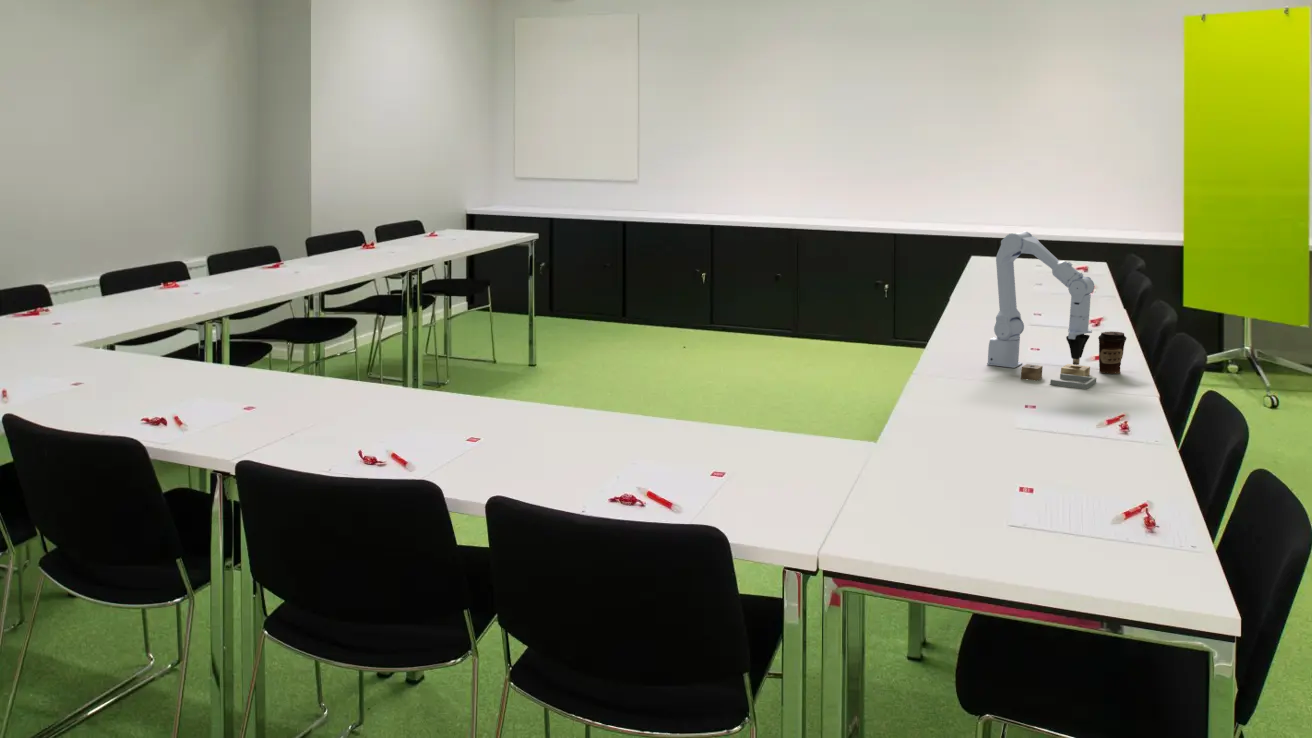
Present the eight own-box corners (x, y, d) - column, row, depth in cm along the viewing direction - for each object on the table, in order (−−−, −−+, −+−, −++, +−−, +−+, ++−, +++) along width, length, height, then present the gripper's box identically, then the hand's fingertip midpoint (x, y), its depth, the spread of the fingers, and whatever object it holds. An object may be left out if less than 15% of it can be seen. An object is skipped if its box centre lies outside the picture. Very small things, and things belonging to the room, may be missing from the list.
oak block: (1060, 375, 348) (1061, 367, 347) (1067, 371, 353) (1067, 363, 352) (1083, 378, 343) (1083, 370, 343) (1089, 374, 349) (1090, 366, 348)
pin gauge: (1071, 364, 347) (1073, 342, 346) (1073, 363, 349) (1074, 341, 347) (1078, 364, 346) (1080, 343, 345) (1079, 363, 348) (1081, 342, 346)
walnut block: (1020, 379, 344) (1021, 366, 343) (1025, 376, 348) (1026, 363, 347) (1036, 381, 341) (1037, 368, 340) (1041, 378, 345) (1042, 365, 344)
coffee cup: (1126, 376, 346) (1129, 335, 344) (1098, 375, 348) (1101, 335, 345) (1120, 370, 355) (1123, 330, 352) (1093, 369, 356) (1096, 330, 354)
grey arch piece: (1050, 384, 336) (1050, 379, 336) (1060, 378, 344) (1061, 373, 344) (1086, 389, 330) (1086, 384, 329) (1096, 382, 338) (1096, 377, 338)
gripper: (1086, 320, 336) (1082, 363, 339) (1099, 313, 347) (1095, 355, 350) (1062, 318, 340) (1059, 360, 343) (1076, 311, 351) (1073, 353, 354)
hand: (1076, 358), depth 347 cm, fingers closed on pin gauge, 2 cm apart
